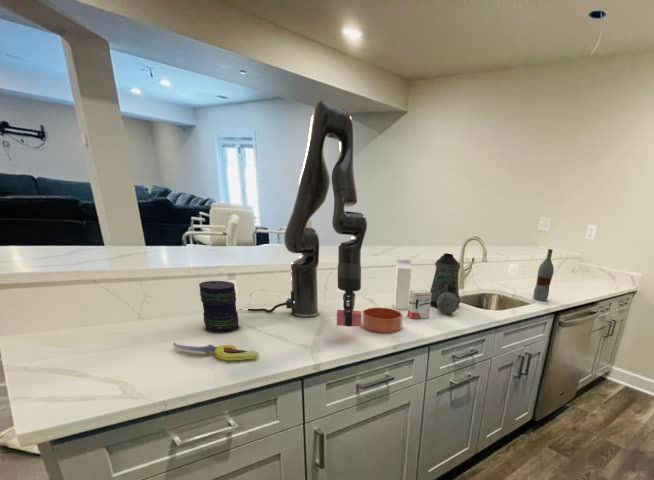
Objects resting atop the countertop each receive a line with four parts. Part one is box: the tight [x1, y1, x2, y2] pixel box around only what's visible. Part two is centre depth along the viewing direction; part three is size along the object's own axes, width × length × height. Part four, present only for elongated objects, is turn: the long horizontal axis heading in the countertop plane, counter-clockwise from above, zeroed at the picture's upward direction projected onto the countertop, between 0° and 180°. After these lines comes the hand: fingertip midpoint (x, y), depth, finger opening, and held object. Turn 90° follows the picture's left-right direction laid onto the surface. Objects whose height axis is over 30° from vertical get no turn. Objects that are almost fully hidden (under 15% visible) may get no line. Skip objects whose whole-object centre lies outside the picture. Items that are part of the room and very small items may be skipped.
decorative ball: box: [437, 292, 459, 315], centre depth 178 cm, size 10×10×10 cm
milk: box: [393, 259, 412, 310], centre depth 175 cm, size 6×6×22 cm
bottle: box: [532, 248, 555, 302], centre depth 229 cm, size 9×9×30 cm
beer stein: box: [429, 252, 461, 309], centre depth 189 cm, size 16×19×25 cm
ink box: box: [407, 288, 432, 320], centre depth 167 cm, size 8×5×12 cm, turn 123°
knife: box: [172, 342, 260, 361], centre depth 110 cm, size 8×3×25 cm
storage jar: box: [198, 280, 240, 334], centre depth 126 cm, size 10×10×15 cm
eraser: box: [336, 309, 362, 328], centre depth 133 cm, size 8×4×4 cm, turn 103°
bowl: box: [361, 307, 403, 334], centre depth 150 cm, size 15×15×6 cm
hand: (348, 323), depth 134 cm, fingers closed on eraser, 4 cm apart
